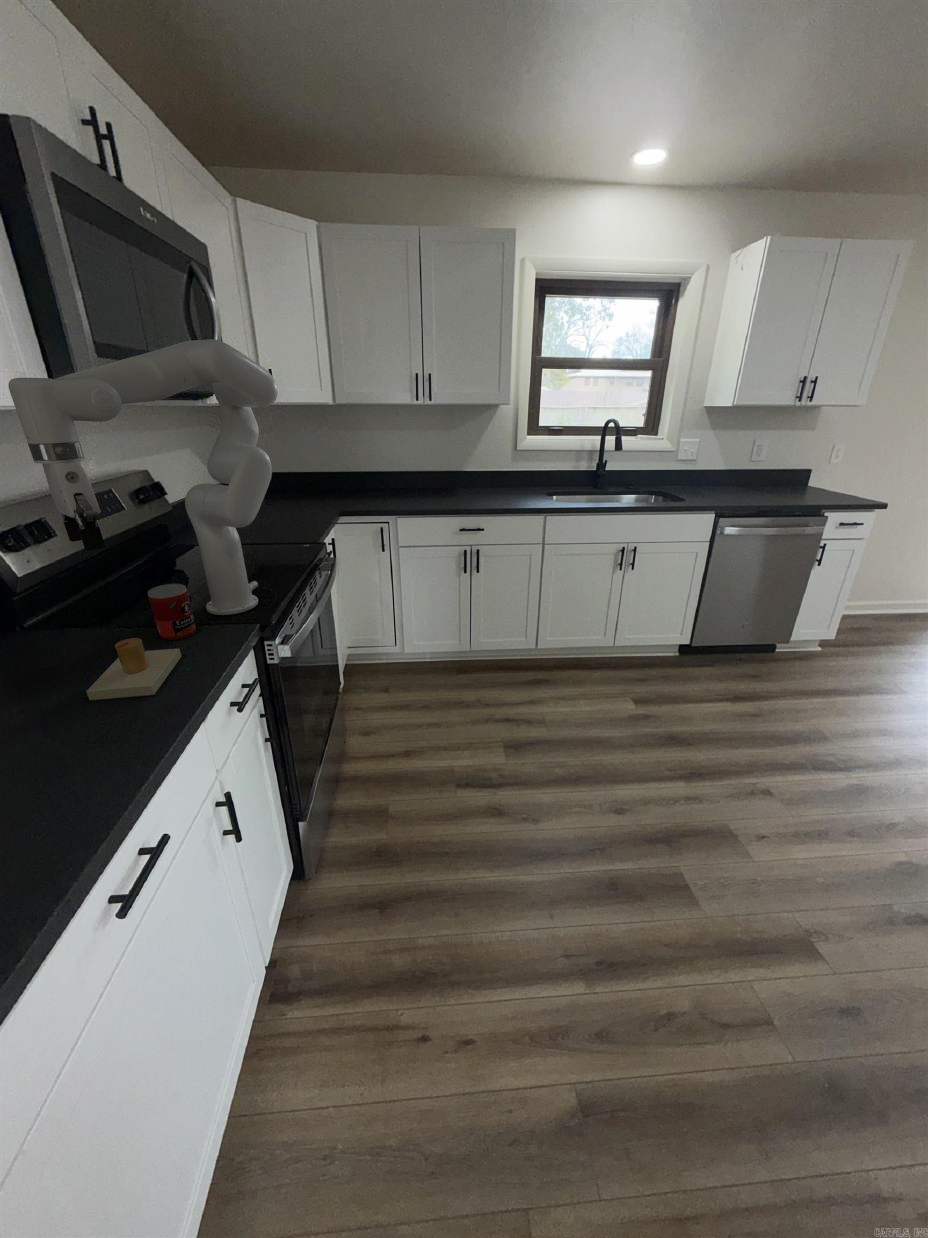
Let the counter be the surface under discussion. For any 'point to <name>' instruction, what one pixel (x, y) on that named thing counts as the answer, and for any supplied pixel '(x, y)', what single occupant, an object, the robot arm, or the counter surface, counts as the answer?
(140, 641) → the tap handle
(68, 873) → the counter surface
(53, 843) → the counter surface
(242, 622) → the counter surface
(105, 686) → the plate
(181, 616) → the canned food
